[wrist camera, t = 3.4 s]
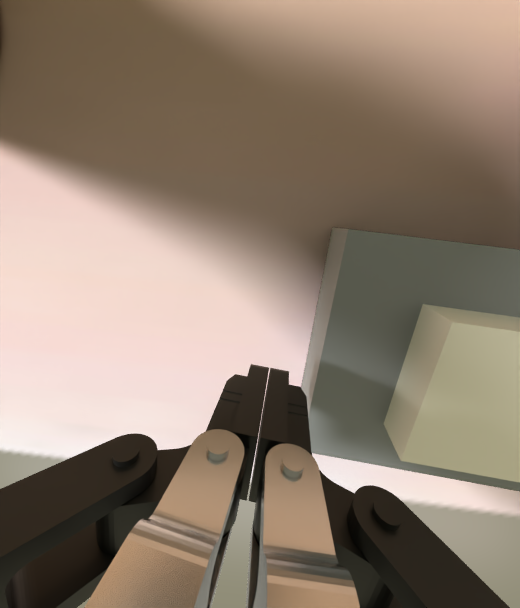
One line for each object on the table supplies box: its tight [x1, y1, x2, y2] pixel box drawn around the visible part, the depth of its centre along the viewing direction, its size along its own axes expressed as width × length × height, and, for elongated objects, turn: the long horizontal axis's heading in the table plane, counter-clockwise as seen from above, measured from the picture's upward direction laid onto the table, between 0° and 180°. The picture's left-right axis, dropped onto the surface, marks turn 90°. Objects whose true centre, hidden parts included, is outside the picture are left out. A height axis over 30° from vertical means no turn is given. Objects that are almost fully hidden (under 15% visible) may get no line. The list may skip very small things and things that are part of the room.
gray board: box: [301, 227, 520, 491], centre depth 13 cm, size 11×14×4 cm
